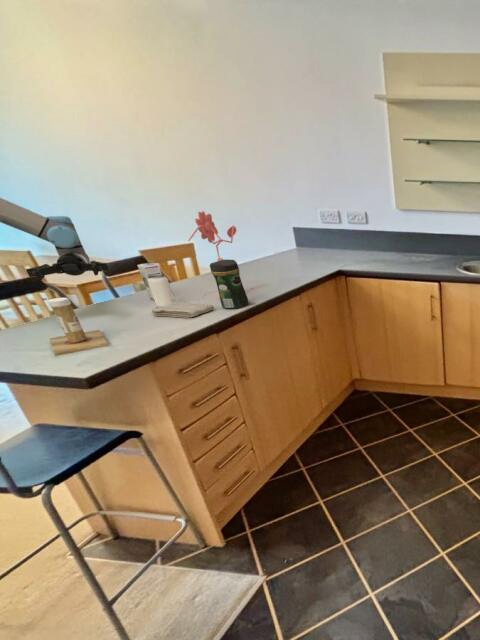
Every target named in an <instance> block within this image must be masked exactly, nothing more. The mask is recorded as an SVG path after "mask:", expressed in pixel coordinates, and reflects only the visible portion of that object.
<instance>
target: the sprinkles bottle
mask: <svg viewBox="0 0 480 640" xmlns="http://www.w3.org/2000/svg"><path fill="white" fill-rule="evenodd" d="M47 302H48V305H49V307H51V310H52V312H53V313H54V315H55V317H56V319H57V322H58V324H59V326H60V328H61V330H62V332H63V333H64V336H66V337H67V339H68V342H72V343H73V342H80V341H84V340H86V339H87V337H86V335H85V333H84V329H83V327H82V324H81V322H80V320H79V318H78V316H77V314H76V313H75V311H74V308H73V306H72V304H71V300H70V298H68V297H55V298H51V299H48V300H47Z"/></svg>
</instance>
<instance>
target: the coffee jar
mask: <svg viewBox="0 0 480 640" xmlns="http://www.w3.org/2000/svg"><path fill="white" fill-rule="evenodd" d="M209 268H210V272H211V275H212V276H213V278H214V280H215V284H216V288H217V292H218V295H219V296H220V298H219V300H220V304H221V307H222V308H224V309H225V310H232V309H240V308H243V307H245V306H247V305H249V304H250V301H249V297H248V295H247V293H246V291H245V288H244V285H243V282H242V279H241V275H240V266H239V265H238V263H237V261H236V260H234V259H224V260H221V261H217V260H216V261H214V262H210V264H209Z"/></svg>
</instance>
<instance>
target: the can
mask: <svg viewBox="0 0 480 640" xmlns="http://www.w3.org/2000/svg"><path fill="white" fill-rule="evenodd" d="M147 278H148V284H149V287H150V290H151V292H152V295H153V297H154V299H153V300H154V302H155V305H156V307H160V306H166V305H169V304H171V303H174V302H177V301H176V299H175V296H174V293H173V290H172V287H171V284H170V282H169V279H168V278H167V277H166V274H162V275H152V276H148V277H147Z"/></svg>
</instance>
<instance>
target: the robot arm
mask: <svg viewBox="0 0 480 640" xmlns="http://www.w3.org/2000/svg"><path fill="white" fill-rule="evenodd" d="M0 223H1V224H4V225H6V226H9V227H11V228H14V229H16V230H19V231H21V232H24V233H27V234H29V235H30V236H31V235H32V236H34V237H36V238H39V239H41V240H44V241H46V242H48V243H51V244H52V245H53V246H54V248H55V250H56V253H57V254H58V258H57V260H56V262H55V263H52V265H50V264H48V263H44V264H42V265H37V266H35V267H30V268H26V269H25V271H26V273H27V275H28V278H33V277H34V278H37V280H38V281H43V280H44V278H45V276H49V275H53V274H54V275H55V274H59V275H62V274H66V275H67V276H74V277H75V276H81V275H83V274H85V272H93V275H94V276H98V275H99V272H100V273H101V272H103V271H106V272H108V271H110V267H109V266H108V263H107V262H101V261H96V260H90V257H89V254H87V253H86V250H85V248H84V246H83V244H82V242H81V239H80V237H79V235H78V234H79V233H78V232H77V229H76V227H75V225H74V223H73V221H72V219H71V218H70V217H69V216H66V215H54V216H44V215H41V214H39V213H37V212H34V211H32V210H30V209H27V208H25V207H24V206H21V205H18V204H16V203H14V202H11V201H9V200H7V199H4V198H2V197H0Z"/></svg>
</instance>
